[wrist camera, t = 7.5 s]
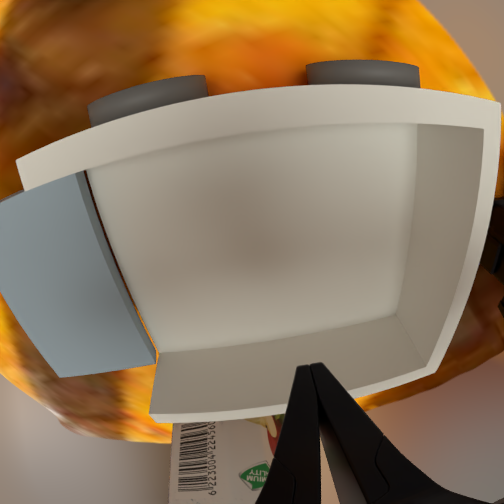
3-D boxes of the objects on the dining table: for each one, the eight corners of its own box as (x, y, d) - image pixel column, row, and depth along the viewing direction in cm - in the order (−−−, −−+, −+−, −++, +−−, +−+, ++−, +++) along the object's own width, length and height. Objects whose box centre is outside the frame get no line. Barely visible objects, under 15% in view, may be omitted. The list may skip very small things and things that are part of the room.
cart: (390, 70, 15) (499, 74, 6) (381, 298, 24) (430, 382, 16) (106, 106, 15) (8, 128, 7) (176, 331, 24) (163, 430, 16)
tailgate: (74, 171, 11) (-33, 220, 10) (155, 363, 18) (59, 377, 16) (87, 162, 13) (-15, 206, 12) (155, 340, 19) (65, 356, 18)
